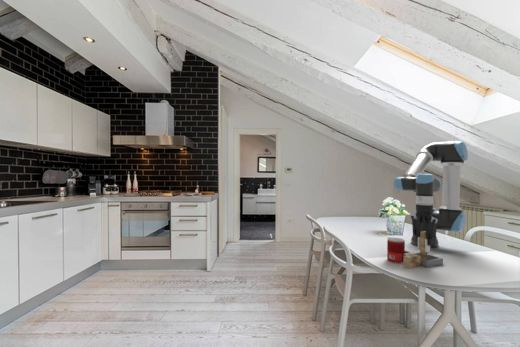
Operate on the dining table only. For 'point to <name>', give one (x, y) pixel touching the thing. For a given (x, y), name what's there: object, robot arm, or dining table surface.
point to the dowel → (423, 245)
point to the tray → (429, 260)
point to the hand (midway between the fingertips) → (423, 250)
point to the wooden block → (411, 261)
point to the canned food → (395, 250)
